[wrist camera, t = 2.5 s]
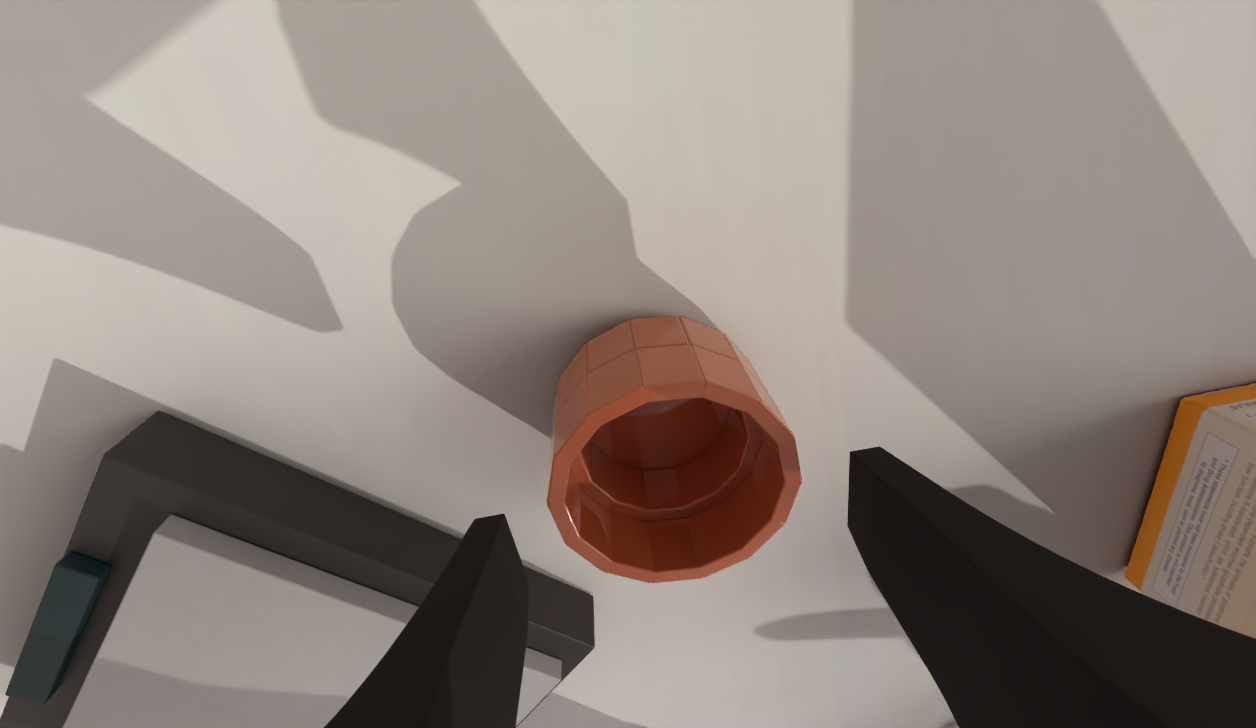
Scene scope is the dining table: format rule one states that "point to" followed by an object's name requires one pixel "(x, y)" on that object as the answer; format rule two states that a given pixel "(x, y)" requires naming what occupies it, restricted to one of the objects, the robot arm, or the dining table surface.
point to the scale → (240, 596)
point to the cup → (667, 453)
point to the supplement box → (1204, 513)
